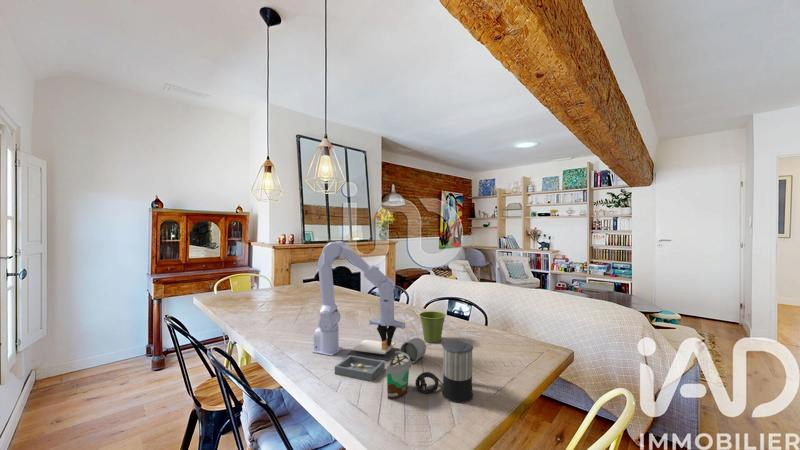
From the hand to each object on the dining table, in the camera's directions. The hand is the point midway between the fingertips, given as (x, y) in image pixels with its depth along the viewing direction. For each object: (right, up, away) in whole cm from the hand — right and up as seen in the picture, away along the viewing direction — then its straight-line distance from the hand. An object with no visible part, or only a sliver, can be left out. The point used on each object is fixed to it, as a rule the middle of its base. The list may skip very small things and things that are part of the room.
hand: (386, 344), depth 125 cm
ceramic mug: (+9, -4, -4) cm, 11 cm away
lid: (-5, -2, +2) cm, 6 cm away
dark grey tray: (-9, -4, -15) cm, 18 cm away
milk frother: (+18, -4, -28) cm, 34 cm away
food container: (+5, -4, -28) cm, 29 cm away
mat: (-5, -4, +2) cm, 7 cm away
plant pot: (+19, -4, +15) cm, 25 cm away
